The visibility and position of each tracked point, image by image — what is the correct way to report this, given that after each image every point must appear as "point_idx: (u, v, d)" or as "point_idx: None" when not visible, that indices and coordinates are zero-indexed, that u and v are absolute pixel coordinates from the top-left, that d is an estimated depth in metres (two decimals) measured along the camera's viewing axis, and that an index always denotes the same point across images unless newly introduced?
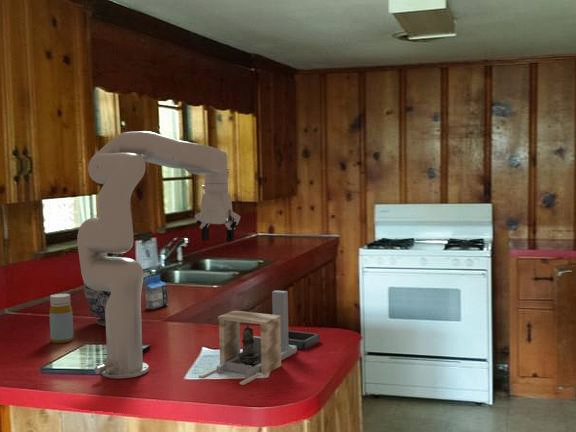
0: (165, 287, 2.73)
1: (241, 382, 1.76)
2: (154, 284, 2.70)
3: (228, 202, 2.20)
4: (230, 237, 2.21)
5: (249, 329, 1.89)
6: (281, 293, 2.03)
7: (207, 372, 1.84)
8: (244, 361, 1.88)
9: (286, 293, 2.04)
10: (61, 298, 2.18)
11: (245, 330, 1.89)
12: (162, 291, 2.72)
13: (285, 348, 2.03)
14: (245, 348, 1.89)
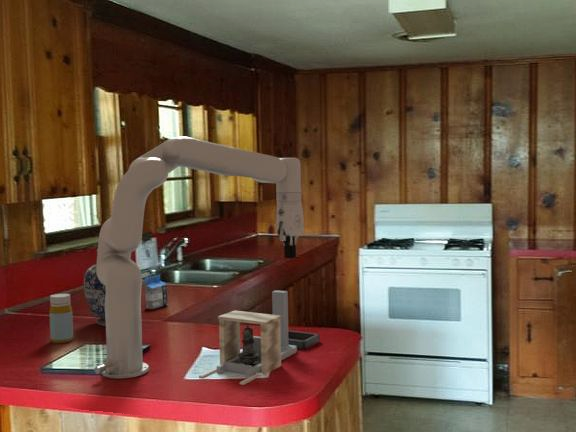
0: (165, 287, 2.73)
1: (241, 382, 1.76)
2: (154, 284, 2.70)
3: None
4: None
5: (249, 329, 1.89)
6: (281, 293, 2.03)
7: (207, 372, 1.84)
8: (244, 361, 1.88)
9: (286, 293, 2.04)
10: (61, 298, 2.18)
11: (245, 330, 1.89)
12: (162, 291, 2.72)
13: (285, 348, 2.03)
14: (245, 348, 1.89)
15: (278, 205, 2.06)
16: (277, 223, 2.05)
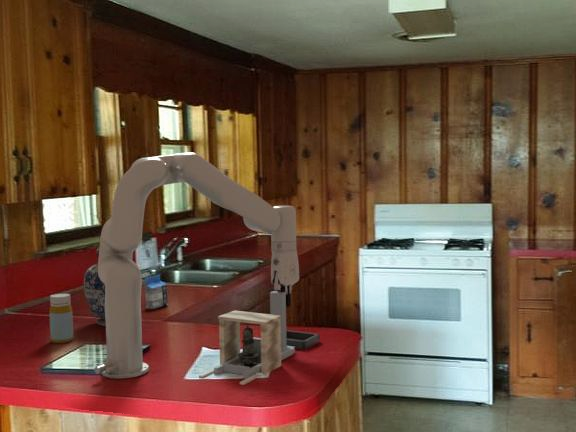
0: (165, 287, 2.73)
1: (241, 382, 1.76)
2: (154, 284, 2.70)
3: None
4: None
5: (249, 329, 1.89)
6: (279, 294, 2.02)
7: (207, 372, 1.84)
8: (244, 361, 1.88)
9: (284, 294, 2.03)
10: (61, 298, 2.18)
11: (245, 330, 1.89)
12: (162, 291, 2.72)
13: (283, 349, 2.02)
14: (245, 348, 1.89)
15: (273, 254, 2.03)
16: (272, 272, 2.03)
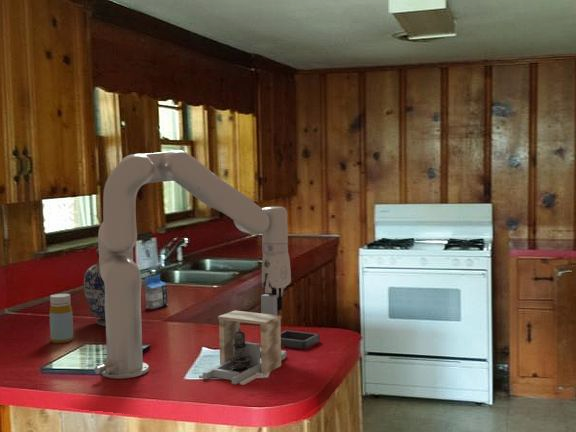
0: (165, 287, 2.73)
1: (241, 382, 1.76)
2: (154, 284, 2.70)
3: None
4: None
5: (241, 333, 1.85)
6: (270, 297, 1.97)
7: None
8: (236, 365, 1.84)
9: (275, 297, 1.99)
10: (61, 298, 2.18)
11: (237, 334, 1.85)
12: (162, 291, 2.72)
13: None
14: (237, 353, 1.85)
15: (264, 256, 1.99)
16: (263, 275, 1.99)
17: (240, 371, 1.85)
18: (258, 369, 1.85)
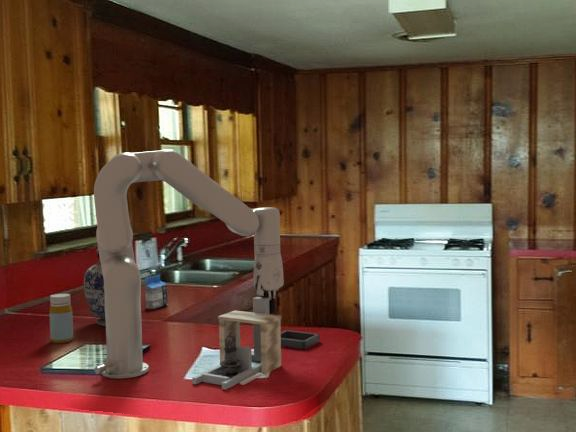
0: (165, 287, 2.73)
1: (241, 382, 1.76)
2: (154, 284, 2.70)
3: None
4: None
5: (231, 336, 1.81)
6: (262, 300, 1.94)
7: None
8: (226, 370, 1.80)
9: (267, 300, 1.95)
10: (61, 298, 2.18)
11: (227, 337, 1.81)
12: (162, 291, 2.72)
13: None
14: (227, 357, 1.81)
15: (256, 258, 1.95)
16: (254, 277, 1.95)
17: (231, 376, 1.81)
18: (249, 373, 1.81)
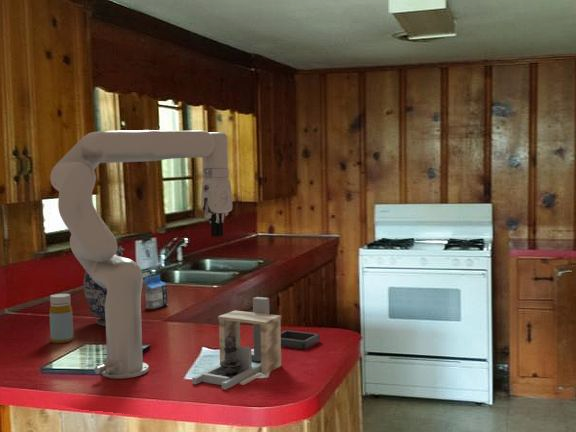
0: (165, 287, 2.73)
1: (241, 382, 1.76)
2: (154, 284, 2.70)
3: None
4: None
5: (231, 336, 1.81)
6: (262, 300, 1.94)
7: None
8: (226, 370, 1.80)
9: (267, 300, 1.95)
10: (61, 298, 2.18)
11: (227, 338, 1.81)
12: (162, 291, 2.72)
13: None
14: (227, 357, 1.81)
15: (203, 181, 1.99)
16: (202, 200, 1.99)
17: (231, 376, 1.81)
18: (249, 373, 1.81)
